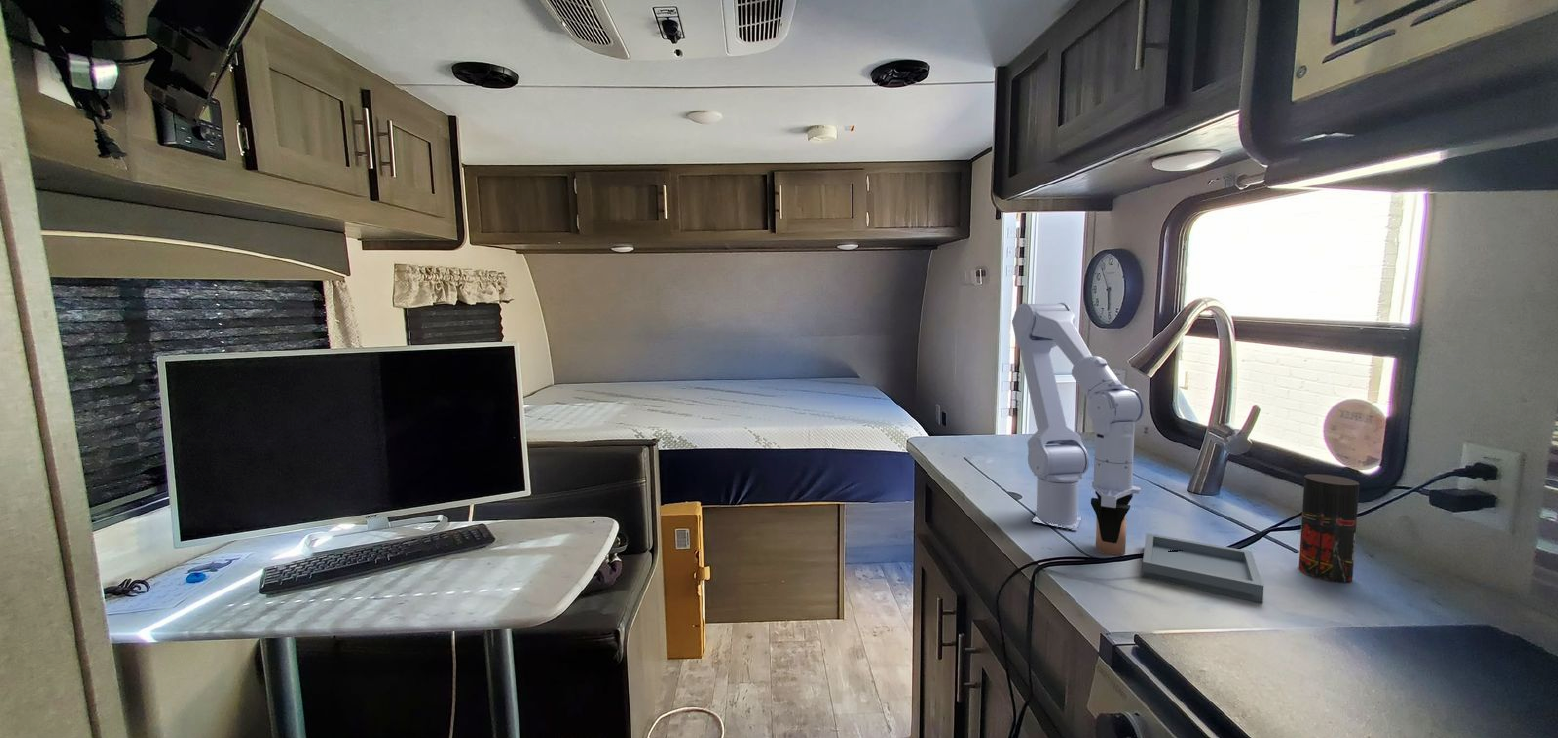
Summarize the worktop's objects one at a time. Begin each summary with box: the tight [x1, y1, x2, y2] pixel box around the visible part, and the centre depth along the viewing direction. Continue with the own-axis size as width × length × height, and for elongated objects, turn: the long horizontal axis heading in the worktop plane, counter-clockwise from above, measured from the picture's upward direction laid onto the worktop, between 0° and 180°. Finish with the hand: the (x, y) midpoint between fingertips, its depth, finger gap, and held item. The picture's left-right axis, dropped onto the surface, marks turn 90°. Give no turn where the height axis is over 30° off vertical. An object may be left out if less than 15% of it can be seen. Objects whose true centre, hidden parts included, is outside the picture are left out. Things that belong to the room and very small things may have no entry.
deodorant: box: [1297, 473, 1360, 584], centre depth 84 cm, size 6×6×15 cm
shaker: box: [1095, 516, 1127, 557], centre depth 94 cm, size 4×4×8 cm
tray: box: [1142, 532, 1264, 604], centre depth 86 cm, size 14×14×2 cm
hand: (1110, 536), depth 94 cm, fingers open, 5 cm apart
